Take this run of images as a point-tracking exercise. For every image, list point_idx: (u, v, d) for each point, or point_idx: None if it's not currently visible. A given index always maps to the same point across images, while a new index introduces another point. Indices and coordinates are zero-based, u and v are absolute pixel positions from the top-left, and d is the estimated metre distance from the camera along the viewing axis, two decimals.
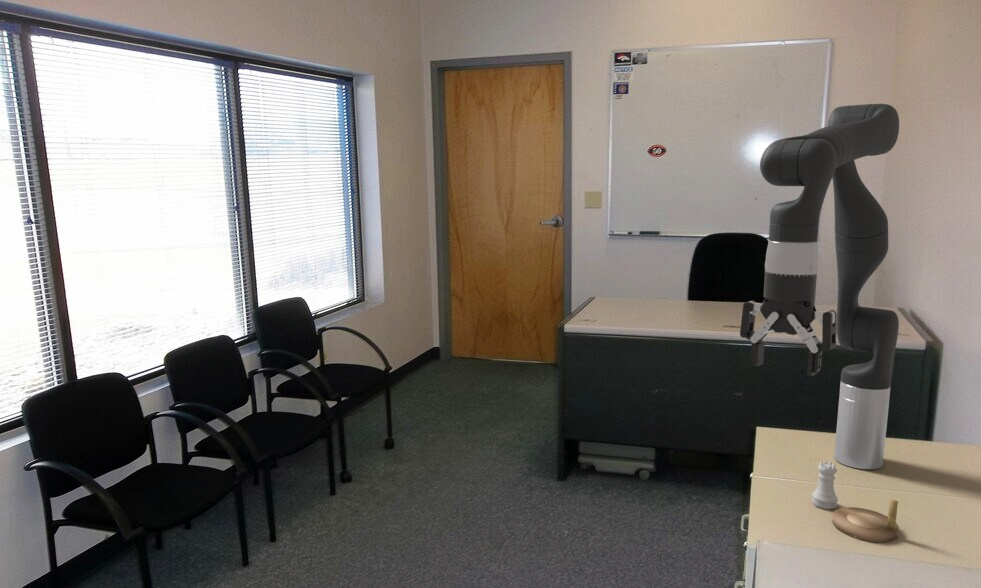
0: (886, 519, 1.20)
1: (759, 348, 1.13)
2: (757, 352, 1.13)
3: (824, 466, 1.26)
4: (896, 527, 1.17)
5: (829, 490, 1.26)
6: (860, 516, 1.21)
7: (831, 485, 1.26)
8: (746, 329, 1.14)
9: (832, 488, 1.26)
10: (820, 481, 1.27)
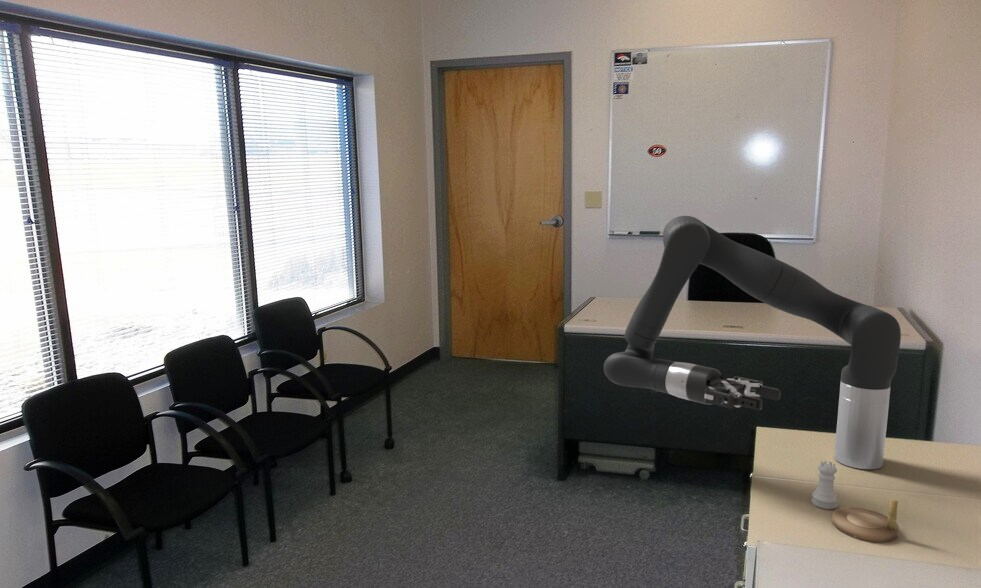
0: (886, 519, 1.20)
1: (763, 395, 1.38)
2: (767, 398, 1.37)
3: (824, 466, 1.26)
4: (896, 527, 1.17)
5: (829, 490, 1.26)
6: (860, 516, 1.21)
7: (831, 485, 1.26)
8: None
9: (832, 488, 1.26)
10: (820, 481, 1.27)
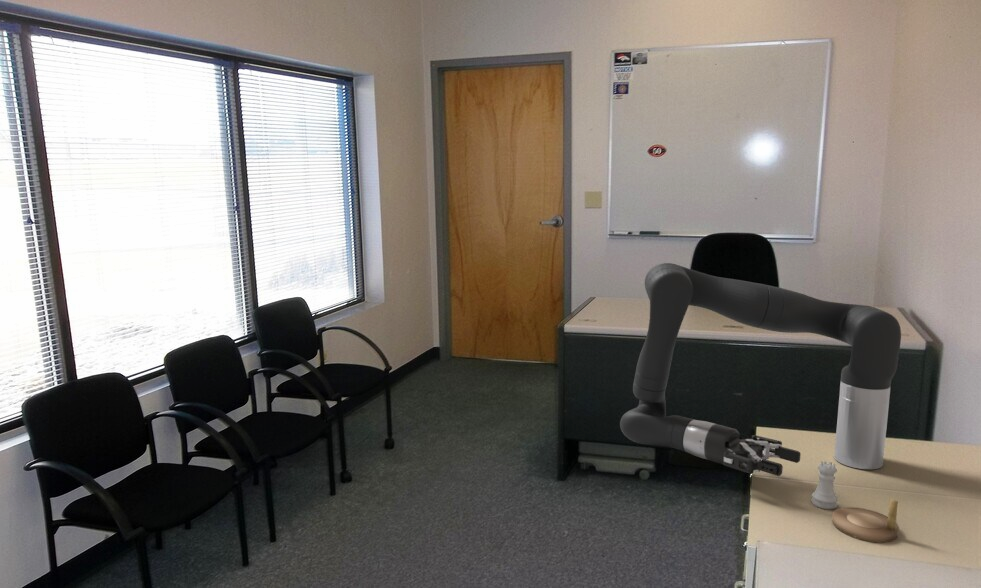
0: (886, 519, 1.20)
1: (782, 457, 1.36)
2: (786, 459, 1.36)
3: (824, 466, 1.26)
4: (896, 527, 1.17)
5: (829, 490, 1.26)
6: (860, 516, 1.21)
7: (831, 485, 1.26)
8: (772, 452, 1.40)
9: (832, 488, 1.26)
10: (820, 481, 1.27)
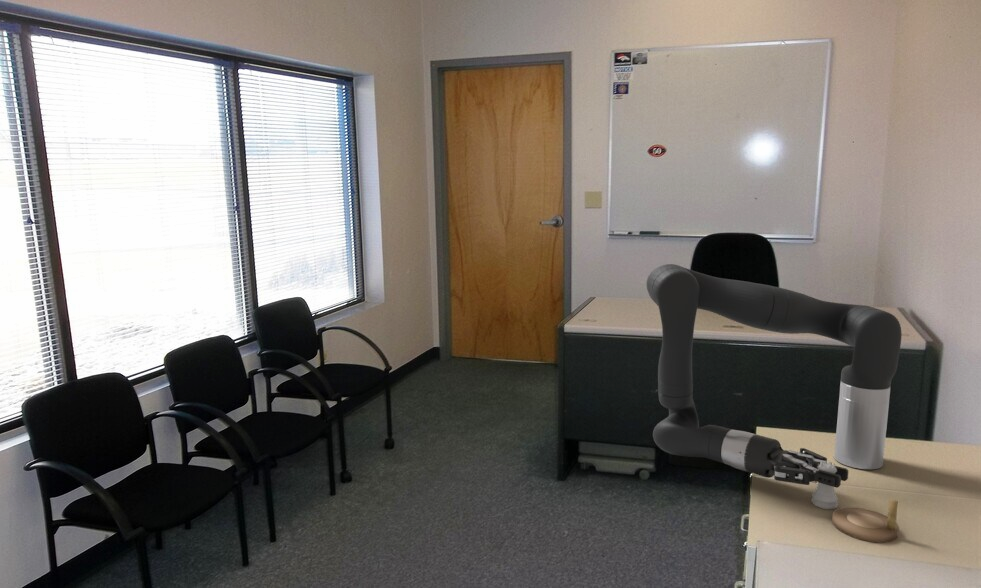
0: (886, 519, 1.20)
1: None
2: None
3: (824, 466, 1.26)
4: (896, 527, 1.17)
5: (829, 490, 1.26)
6: (860, 516, 1.21)
7: None
8: (817, 468, 1.32)
9: (832, 488, 1.26)
10: None
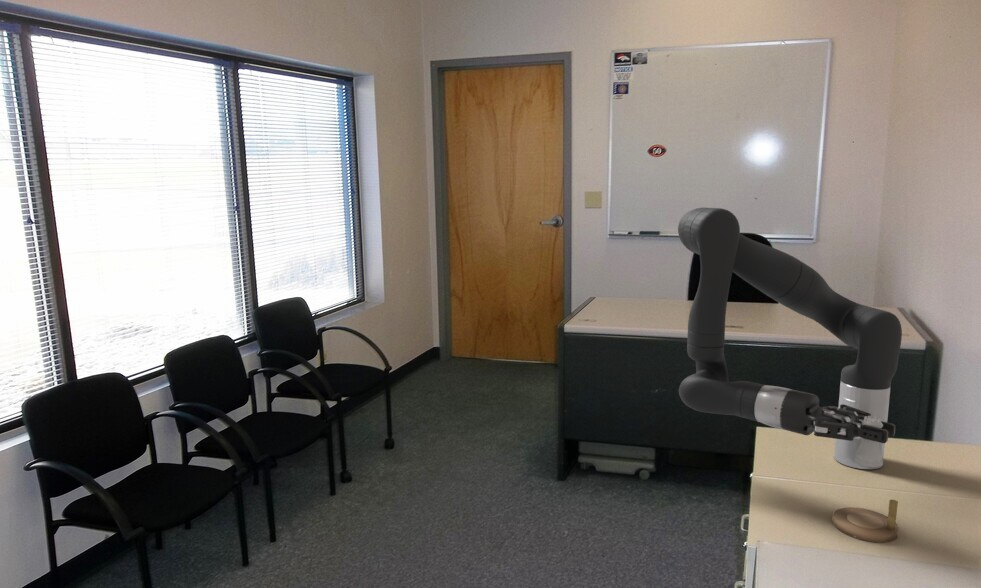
0: (886, 519, 1.20)
1: None
2: None
3: (869, 420, 1.16)
4: (896, 527, 1.17)
5: (874, 447, 1.16)
6: (860, 516, 1.21)
7: None
8: None
9: (877, 444, 1.16)
10: None
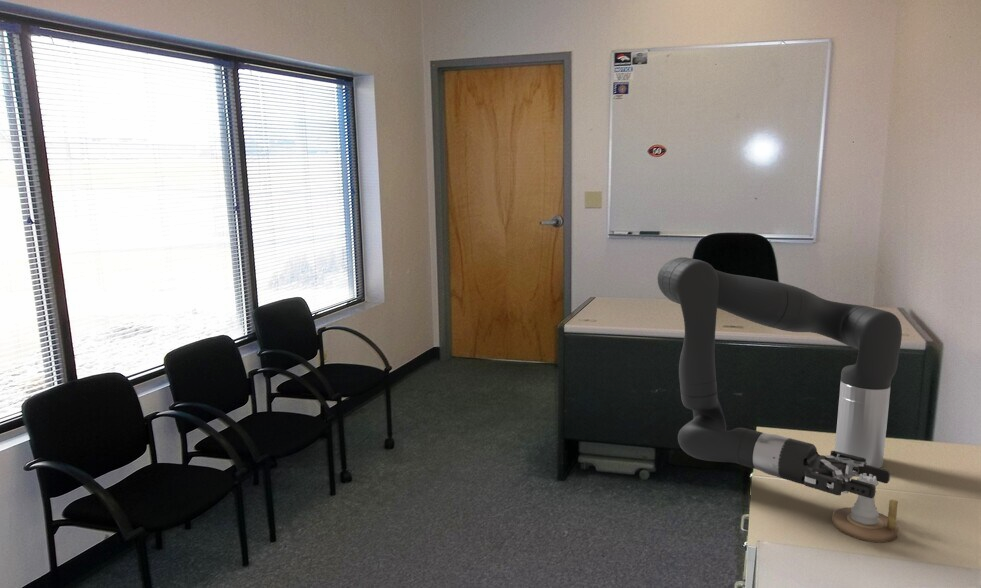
0: (886, 519, 1.20)
1: None
2: None
3: (864, 479, 1.17)
4: (896, 527, 1.17)
5: (870, 504, 1.18)
6: None
7: (872, 499, 1.18)
8: (855, 470, 1.25)
9: (873, 502, 1.18)
10: (860, 495, 1.19)
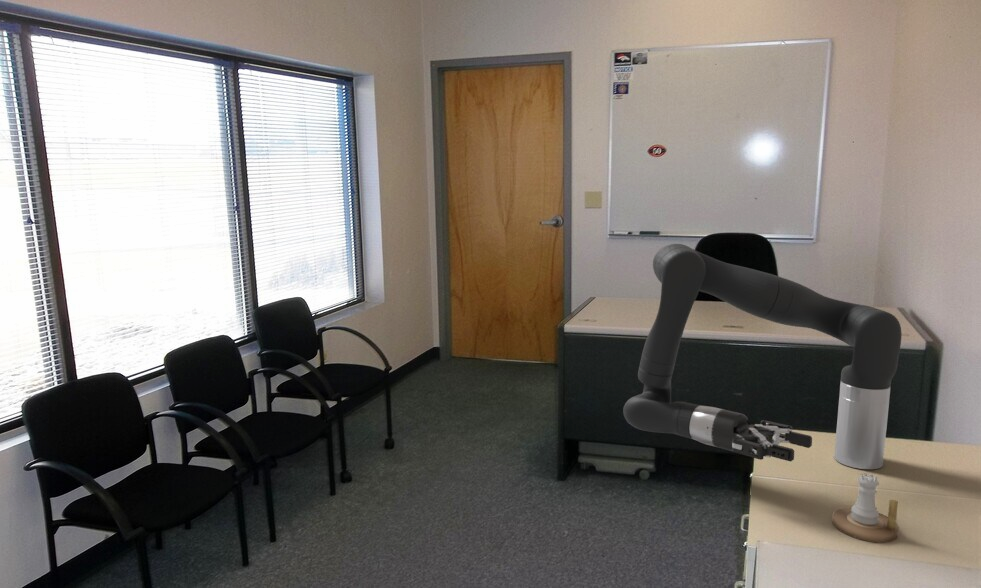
0: (886, 519, 1.20)
1: (793, 442, 1.31)
2: (797, 444, 1.31)
3: (865, 479, 1.17)
4: (896, 527, 1.17)
5: (870, 504, 1.18)
6: None
7: (872, 499, 1.18)
8: (782, 437, 1.35)
9: (873, 502, 1.18)
10: (860, 495, 1.18)
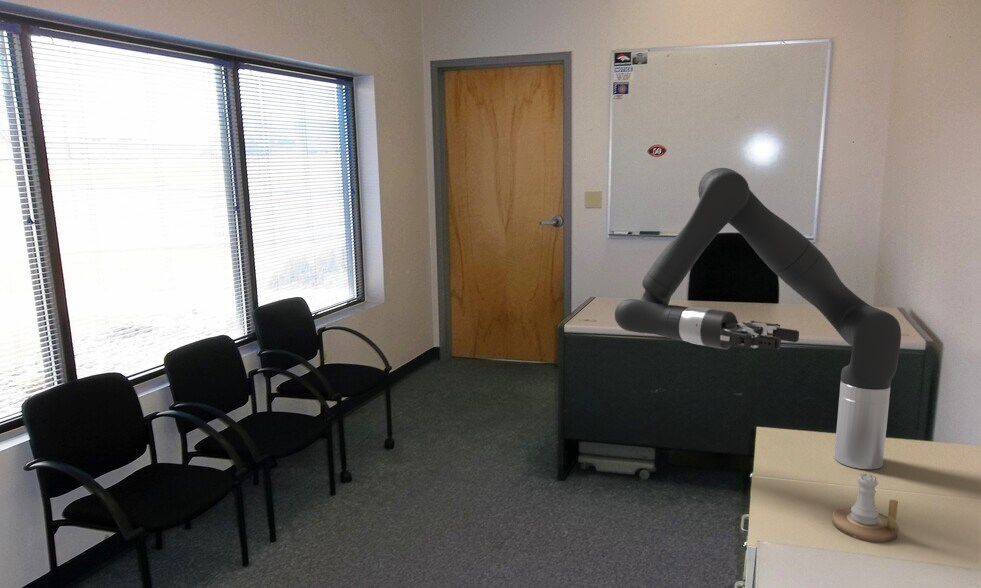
0: (886, 519, 1.20)
1: (781, 337, 1.33)
2: (784, 340, 1.33)
3: (864, 479, 1.17)
4: (896, 527, 1.17)
5: (870, 504, 1.18)
6: None
7: (872, 499, 1.18)
8: (770, 336, 1.36)
9: (873, 502, 1.18)
10: (860, 495, 1.18)
